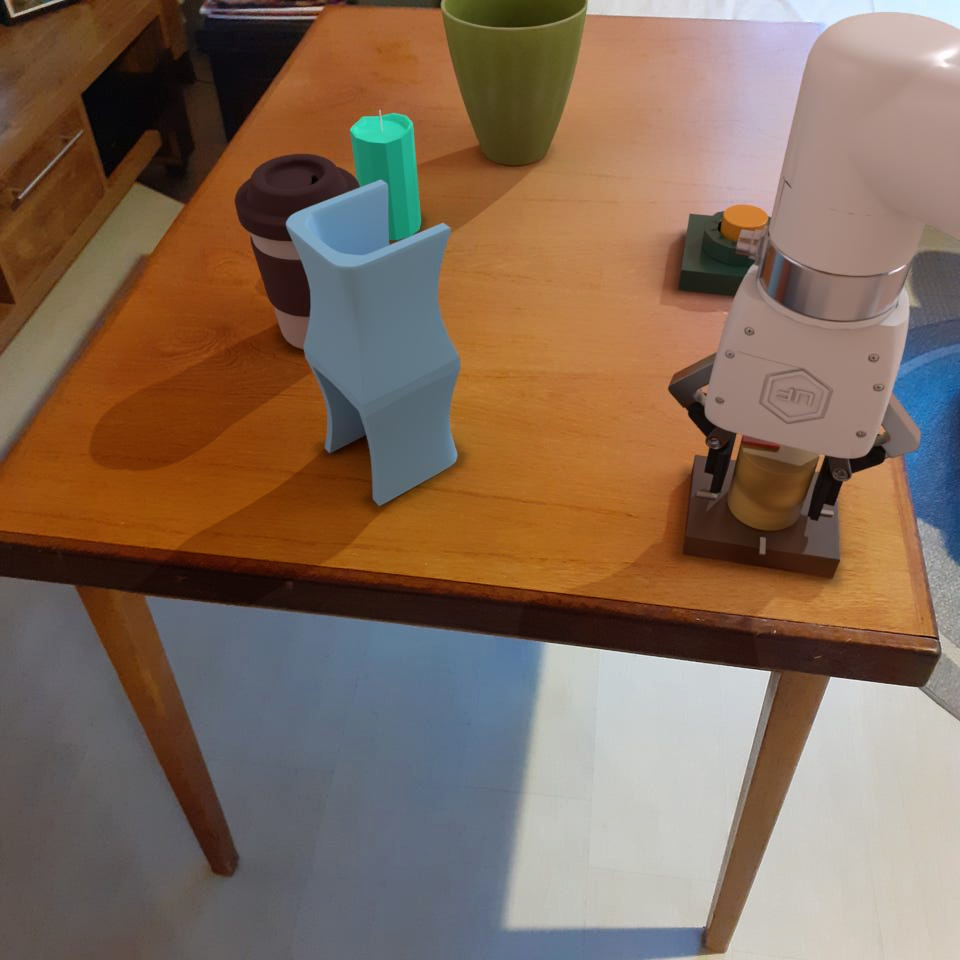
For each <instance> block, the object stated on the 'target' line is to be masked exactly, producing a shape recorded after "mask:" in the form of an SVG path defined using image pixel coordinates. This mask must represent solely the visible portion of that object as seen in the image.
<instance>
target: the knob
mask: <svg viewBox="0 0 960 960" xmlns="http://www.w3.org/2000/svg"><path fill="white" fill-rule="evenodd" d="M820 458H821V454H818V453H814V452H810V451H806V450H802V449H798V448H794V447H790V446H785V445H781V444H777V443H773V442H769V441H765V440H761V439H757V438H753V437H749V436H745V435H742V437H741V439H740V443H739V447H738V452H737V455H736V459H735V460H736V463H735V467H734V471H733V476H732V480H731V484H730V488H729V492H728V497H727V502H728V506H729V508H730V510H731V512H732V513H733V515H734V516H735V517H736V518H737V519H738V520H740V521H741V522H743V523H744V524H746V525H748V526H750V527H752V528H756V529H759V530H765V531H777V530H782V529H785V528H788V527H790V526H791V525H793V524H794V523H795V522H796V521H797V520H798V519H799V517H800V514H801V511H802V508H803V506H804V503H805V500H806V497H807V494H808V491H809V488H810V485H811V482H812V479H813V476H814V473H815V472H816V469H817V466H818V464H819V462H820Z"/></svg>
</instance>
